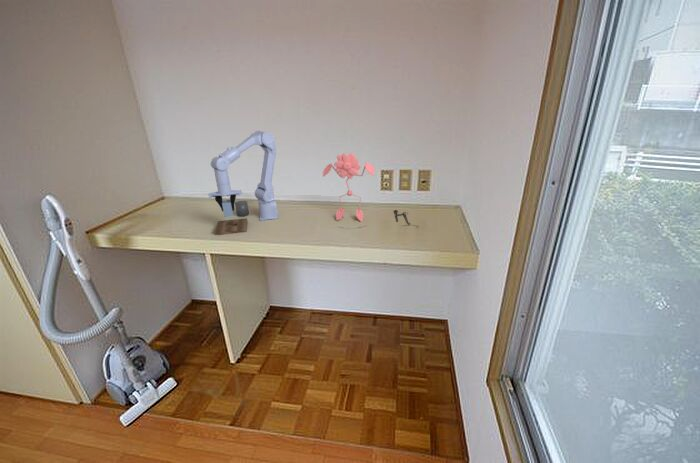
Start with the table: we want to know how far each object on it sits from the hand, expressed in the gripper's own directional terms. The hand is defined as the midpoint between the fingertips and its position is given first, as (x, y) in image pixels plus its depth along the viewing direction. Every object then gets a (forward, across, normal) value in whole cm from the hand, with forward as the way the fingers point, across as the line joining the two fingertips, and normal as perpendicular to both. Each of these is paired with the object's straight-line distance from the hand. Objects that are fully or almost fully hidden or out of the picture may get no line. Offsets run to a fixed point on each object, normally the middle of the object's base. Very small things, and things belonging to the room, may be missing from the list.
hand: (228, 210), depth 155 cm
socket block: (+9, 0, -1) cm, 9 cm away
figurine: (+10, +58, -9) cm, 59 cm away
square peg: (+2, 0, 0) cm, 3 cm away
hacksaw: (+10, +86, -13) cm, 88 cm away
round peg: (+9, +4, +18) cm, 21 cm away
